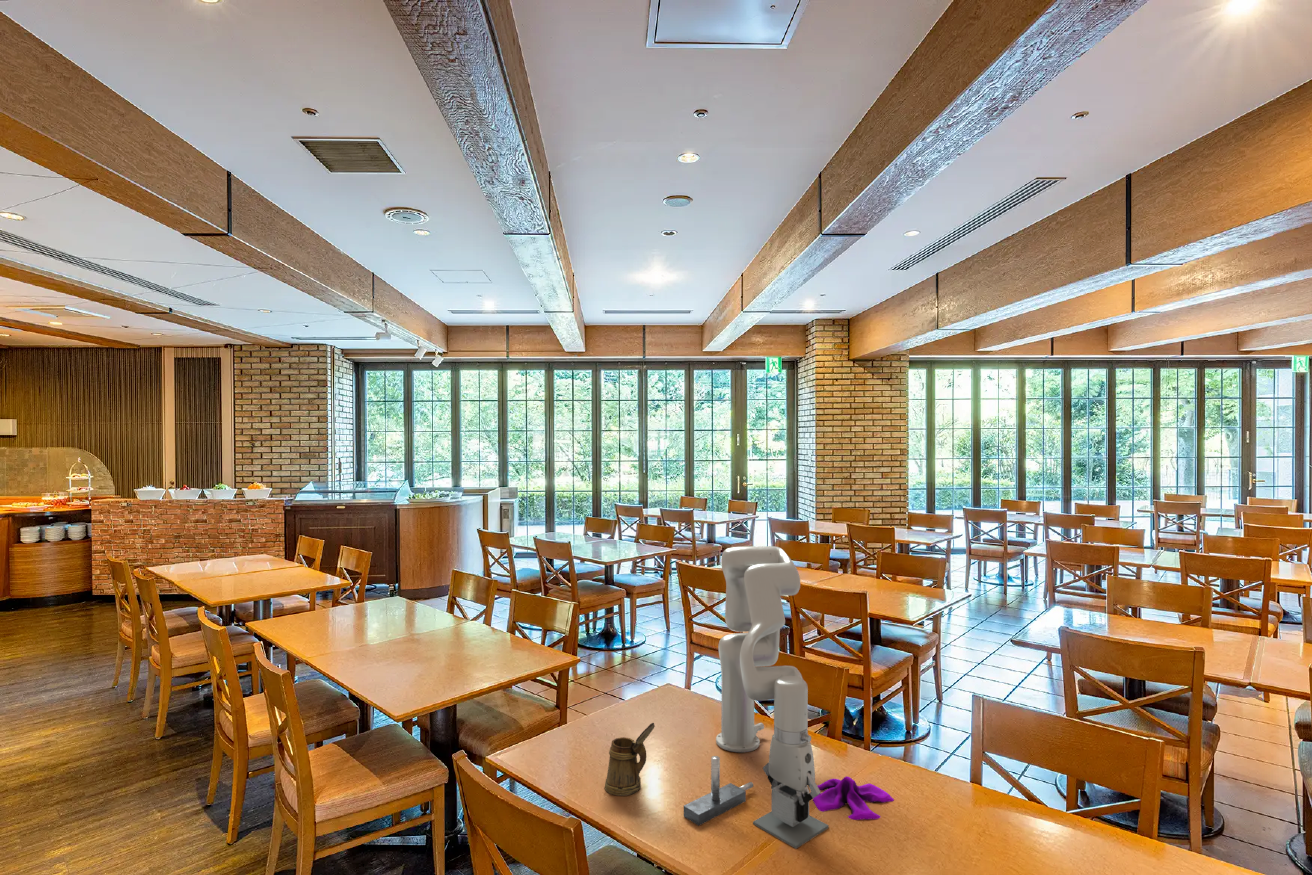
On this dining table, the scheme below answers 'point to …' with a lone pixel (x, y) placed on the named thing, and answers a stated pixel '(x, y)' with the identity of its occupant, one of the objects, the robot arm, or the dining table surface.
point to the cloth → (850, 797)
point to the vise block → (715, 798)
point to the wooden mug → (626, 764)
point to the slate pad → (791, 829)
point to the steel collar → (785, 804)
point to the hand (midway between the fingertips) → (790, 812)
